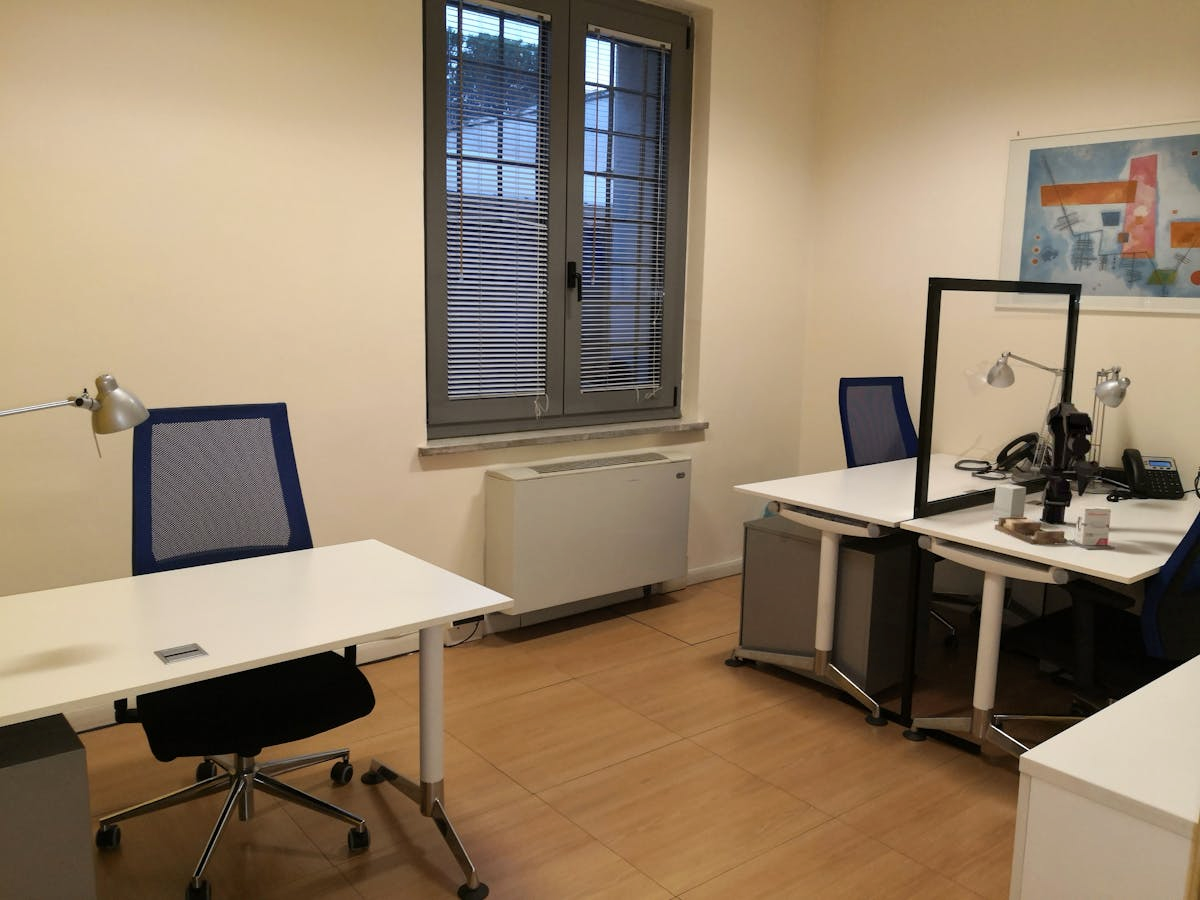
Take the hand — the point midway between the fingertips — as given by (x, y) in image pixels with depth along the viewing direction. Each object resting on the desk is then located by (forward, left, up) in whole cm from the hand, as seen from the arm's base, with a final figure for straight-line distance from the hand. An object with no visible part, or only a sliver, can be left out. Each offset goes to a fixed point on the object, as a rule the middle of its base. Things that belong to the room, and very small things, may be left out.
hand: (1068, 496), depth 326 cm
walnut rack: (+14, +1, -13) cm, 19 cm away
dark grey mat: (+1, +14, -13) cm, 19 cm away
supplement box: (+8, -19, -13) cm, 24 cm away
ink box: (+1, +14, -13) cm, 19 cm away
